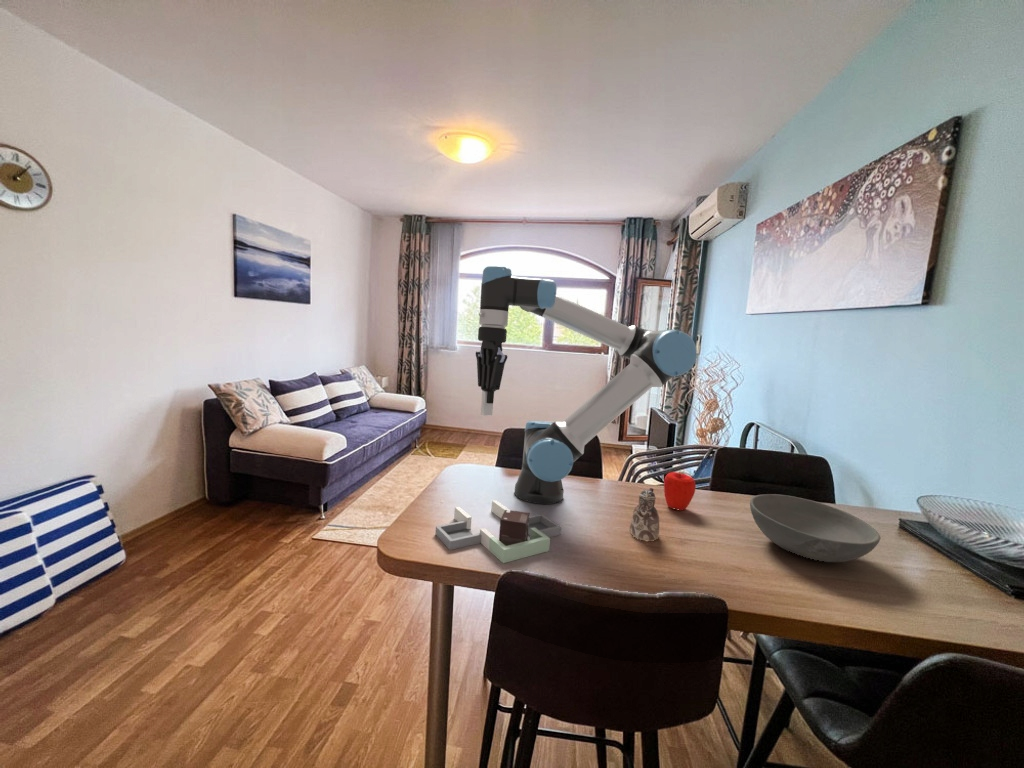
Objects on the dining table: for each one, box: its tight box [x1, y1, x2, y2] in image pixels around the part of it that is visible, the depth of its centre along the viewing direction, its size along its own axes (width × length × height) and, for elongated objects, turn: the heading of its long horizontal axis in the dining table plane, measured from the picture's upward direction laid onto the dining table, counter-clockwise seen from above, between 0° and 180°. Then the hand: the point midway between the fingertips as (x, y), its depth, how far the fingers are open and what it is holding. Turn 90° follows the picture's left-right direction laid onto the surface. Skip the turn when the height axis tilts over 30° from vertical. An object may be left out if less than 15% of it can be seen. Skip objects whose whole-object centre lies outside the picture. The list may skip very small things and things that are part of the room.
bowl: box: [749, 493, 881, 563], centre depth 105 cm, size 26×26×10 cm
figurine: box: [629, 487, 660, 541], centre depth 107 cm, size 7×7×12 cm
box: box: [498, 509, 530, 546], centre depth 96 cm, size 6×6×7 cm
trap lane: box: [434, 499, 562, 564], centre depth 102 cm, size 28×24×3 cm
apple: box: [663, 471, 696, 511], centre depth 127 cm, size 9×9×11 cm
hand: (486, 414), depth 113 cm, fingers closed
